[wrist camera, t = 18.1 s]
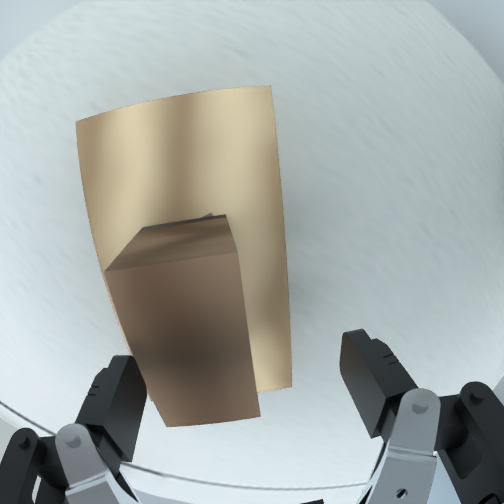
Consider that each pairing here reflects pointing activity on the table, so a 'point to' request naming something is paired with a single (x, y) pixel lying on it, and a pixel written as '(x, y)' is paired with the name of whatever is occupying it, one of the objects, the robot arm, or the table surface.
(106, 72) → the table surface
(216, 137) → the pine board
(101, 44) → the table surface
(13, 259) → the table surface
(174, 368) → the block
